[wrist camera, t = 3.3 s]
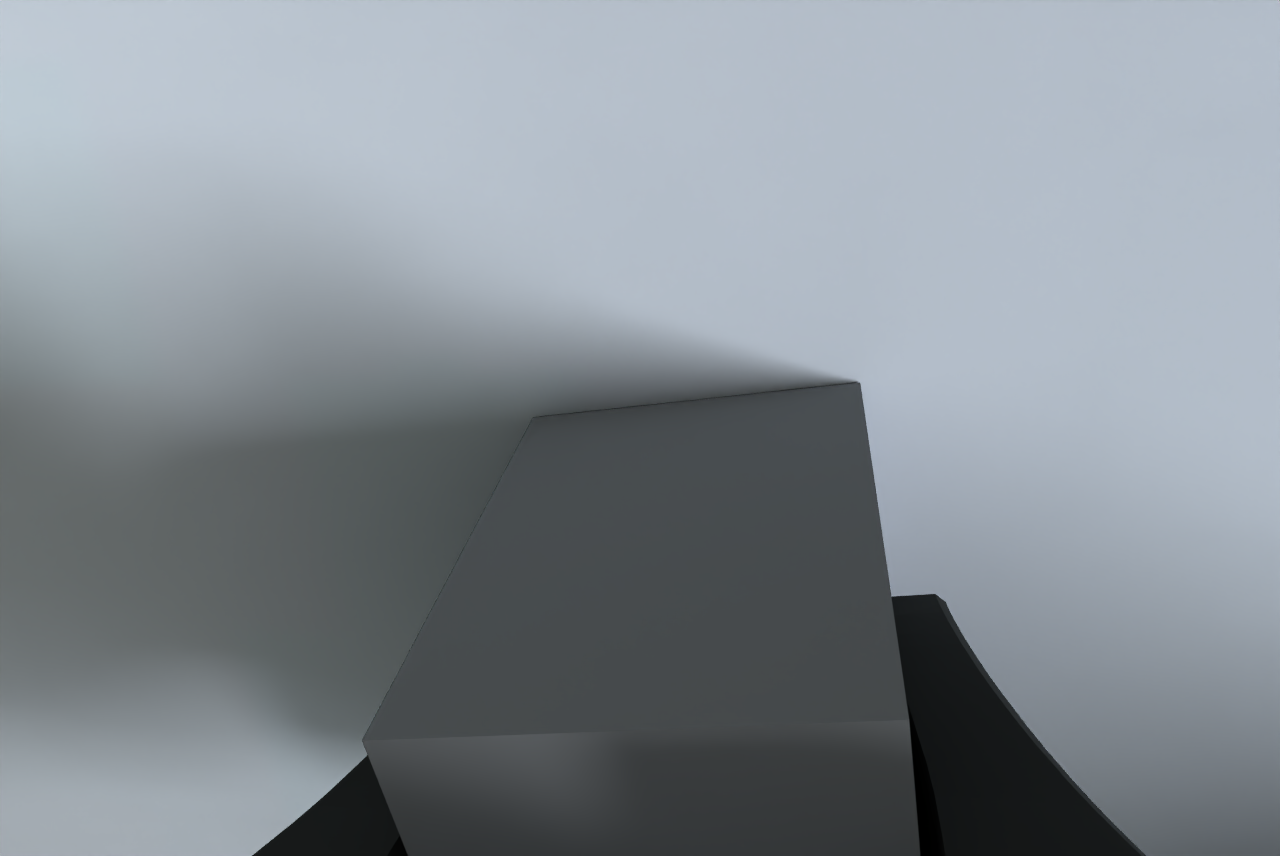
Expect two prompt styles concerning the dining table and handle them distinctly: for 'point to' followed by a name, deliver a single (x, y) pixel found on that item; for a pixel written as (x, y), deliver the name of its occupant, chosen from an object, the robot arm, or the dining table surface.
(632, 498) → the block
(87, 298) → the dining table surface
